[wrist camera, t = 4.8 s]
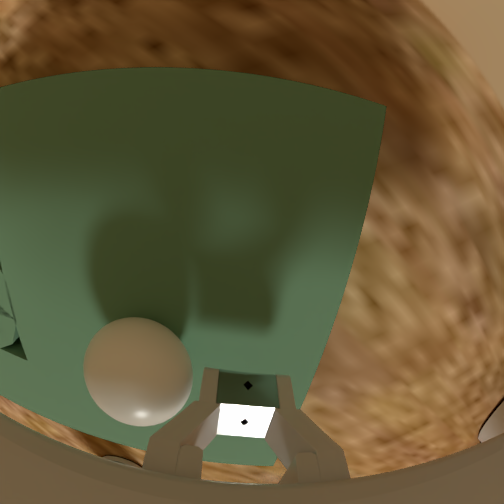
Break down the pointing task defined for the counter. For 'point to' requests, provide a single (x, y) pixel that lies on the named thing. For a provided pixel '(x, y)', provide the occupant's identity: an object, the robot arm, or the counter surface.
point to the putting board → (176, 228)
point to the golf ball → (138, 371)
